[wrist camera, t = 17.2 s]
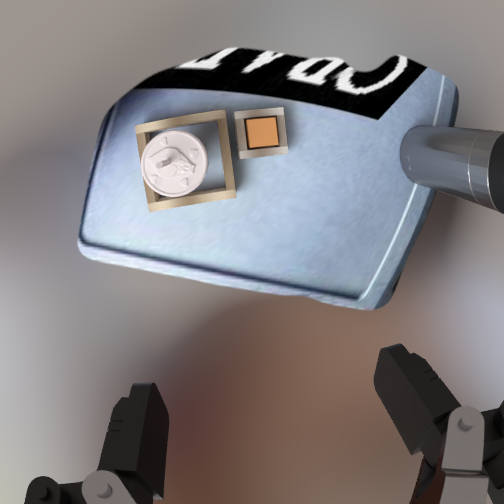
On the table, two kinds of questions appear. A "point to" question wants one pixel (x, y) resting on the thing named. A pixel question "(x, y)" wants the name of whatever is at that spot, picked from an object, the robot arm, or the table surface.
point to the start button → (261, 132)
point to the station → (242, 148)
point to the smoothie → (174, 163)
